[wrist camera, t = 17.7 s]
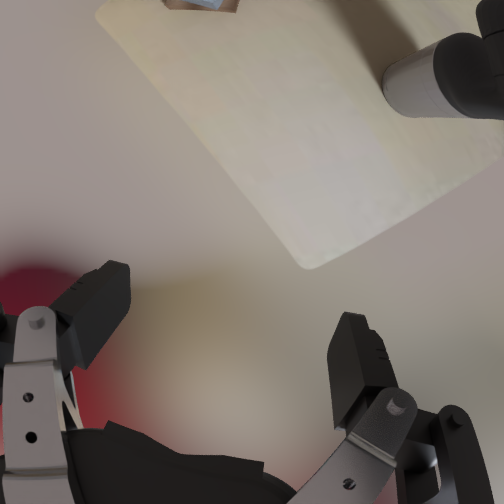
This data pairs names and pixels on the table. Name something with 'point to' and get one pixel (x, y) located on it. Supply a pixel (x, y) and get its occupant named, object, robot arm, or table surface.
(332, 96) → the table surface
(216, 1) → the tower top
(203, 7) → the tower base
